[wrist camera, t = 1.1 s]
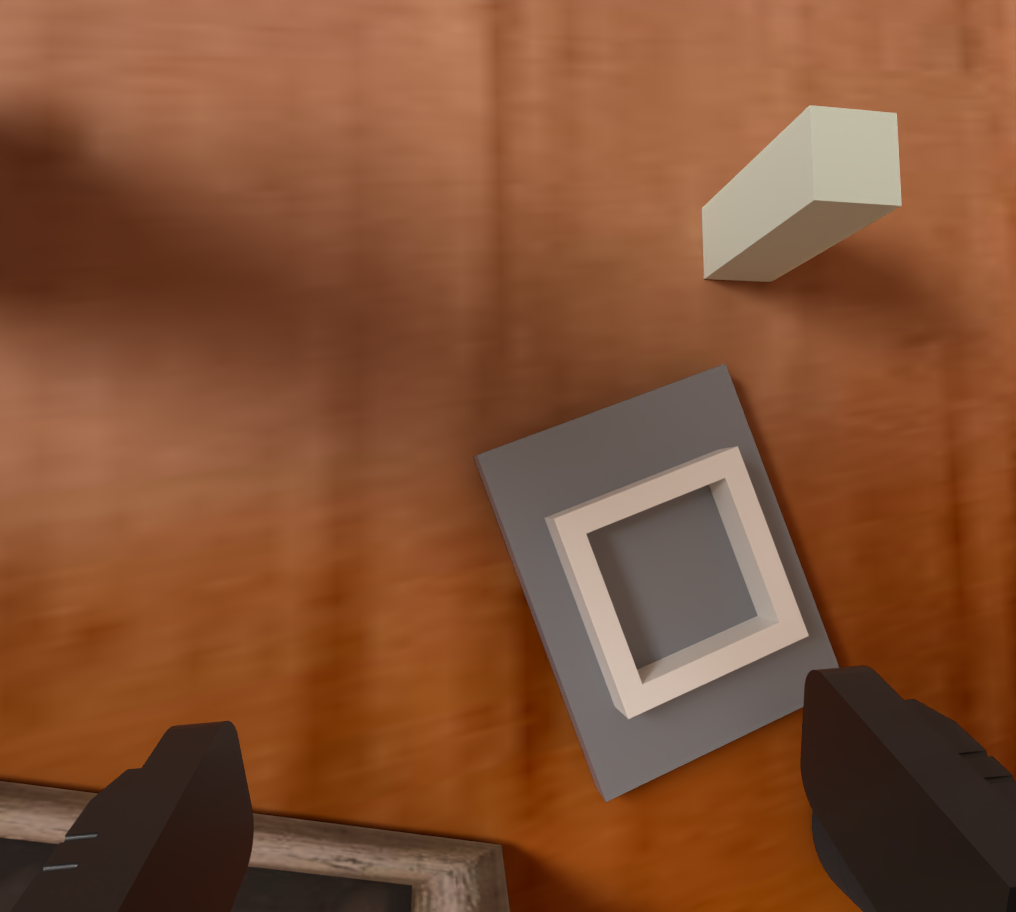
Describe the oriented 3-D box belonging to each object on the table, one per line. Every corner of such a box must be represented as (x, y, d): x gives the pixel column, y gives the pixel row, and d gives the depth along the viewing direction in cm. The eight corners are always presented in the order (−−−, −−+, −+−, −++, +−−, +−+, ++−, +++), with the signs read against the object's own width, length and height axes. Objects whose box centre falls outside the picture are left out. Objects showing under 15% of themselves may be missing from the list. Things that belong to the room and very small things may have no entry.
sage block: (771, 282, 38) (901, 205, 29) (704, 279, 38) (813, 200, 28) (768, 212, 39) (896, 113, 29) (701, 208, 38) (809, 105, 28)
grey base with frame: (473, 456, 35) (482, 452, 31) (712, 369, 37) (744, 355, 34) (597, 789, 35) (619, 820, 31) (828, 678, 37) (872, 696, 34)
